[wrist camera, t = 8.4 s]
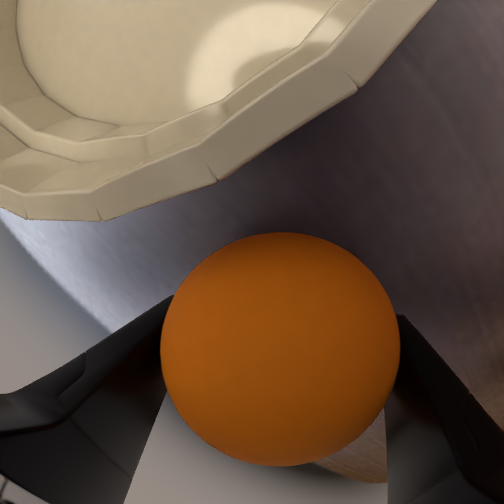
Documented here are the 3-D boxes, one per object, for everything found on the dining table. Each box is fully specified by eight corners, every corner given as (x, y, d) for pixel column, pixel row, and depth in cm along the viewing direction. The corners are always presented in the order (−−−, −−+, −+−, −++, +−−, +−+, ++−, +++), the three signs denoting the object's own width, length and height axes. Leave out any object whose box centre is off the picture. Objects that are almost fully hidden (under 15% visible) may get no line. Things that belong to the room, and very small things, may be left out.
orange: (212, 334, 12) (160, 468, 7) (193, 191, 9) (68, 333, 4) (362, 348, 11) (366, 495, 6) (397, 203, 8) (478, 377, 3)
